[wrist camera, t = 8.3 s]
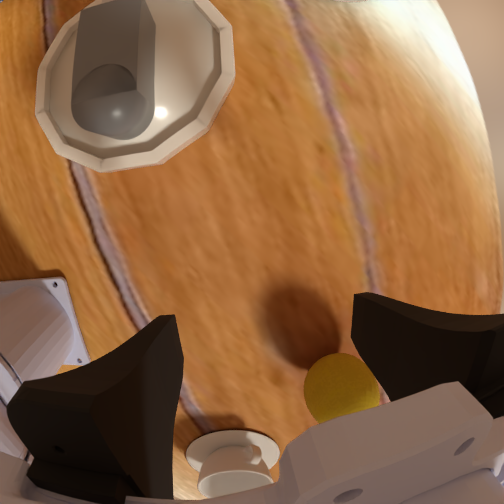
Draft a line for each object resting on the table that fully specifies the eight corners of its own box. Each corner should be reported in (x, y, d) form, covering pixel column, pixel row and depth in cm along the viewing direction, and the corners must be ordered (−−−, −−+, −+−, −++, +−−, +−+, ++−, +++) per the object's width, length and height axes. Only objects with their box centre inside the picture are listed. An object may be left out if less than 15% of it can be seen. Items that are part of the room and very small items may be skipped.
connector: (101, 144, 17) (70, 138, 13) (107, 13, 14) (86, -15, 10) (155, 135, 17) (137, 125, 13) (157, 2, 14) (145, -31, 10)
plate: (51, 184, 18) (37, 186, 16) (57, 23, 14) (46, 14, 12) (239, 156, 19) (241, 154, 17) (227, -13, 16) (228, -27, 14)
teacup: (252, 481, 29) (256, 511, 24) (174, 464, 27) (171, 496, 22) (296, 437, 27) (306, 470, 22) (206, 415, 25) (206, 452, 20)
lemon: (282, 359, 24) (306, 429, 16) (340, 323, 23) (384, 382, 16) (311, 396, 25) (337, 460, 17) (362, 364, 25) (403, 421, 17)
